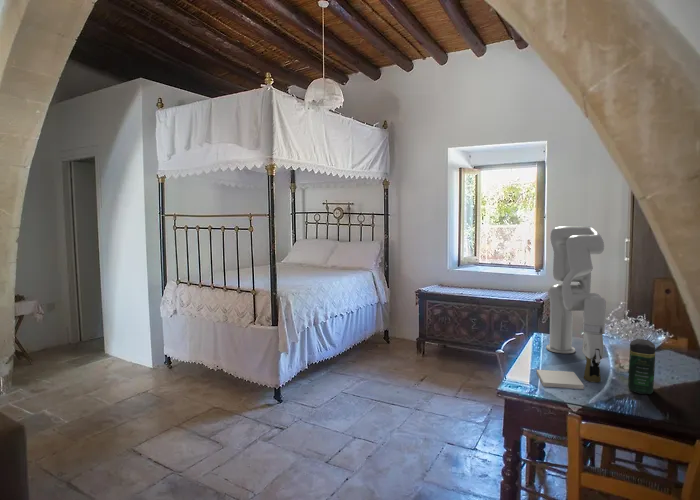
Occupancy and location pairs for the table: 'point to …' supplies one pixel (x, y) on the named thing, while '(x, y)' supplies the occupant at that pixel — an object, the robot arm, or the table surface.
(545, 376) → the tile
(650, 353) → the coffee jar
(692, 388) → the table surface
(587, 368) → the cork
